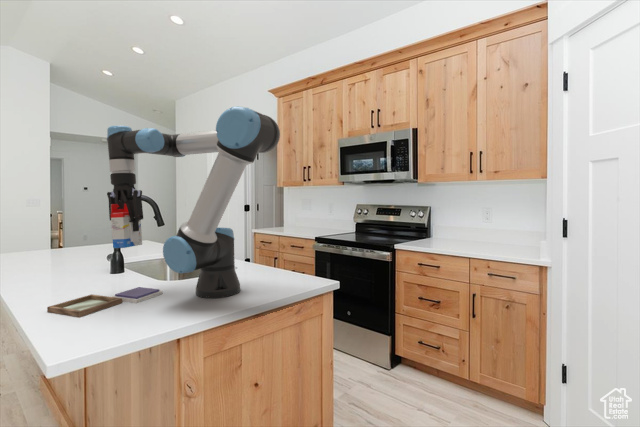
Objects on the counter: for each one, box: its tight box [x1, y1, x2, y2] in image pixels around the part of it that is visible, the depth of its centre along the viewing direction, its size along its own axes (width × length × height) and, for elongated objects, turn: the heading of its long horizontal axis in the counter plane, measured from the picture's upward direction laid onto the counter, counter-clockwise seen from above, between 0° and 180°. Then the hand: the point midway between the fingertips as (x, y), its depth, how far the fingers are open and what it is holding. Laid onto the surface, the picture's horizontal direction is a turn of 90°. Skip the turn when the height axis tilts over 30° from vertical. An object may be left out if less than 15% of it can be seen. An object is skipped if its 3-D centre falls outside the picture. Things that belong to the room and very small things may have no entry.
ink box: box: [110, 203, 143, 249], centre depth 123 cm, size 8×5×15 cm, turn 168°
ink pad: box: [111, 286, 164, 304], centre depth 123 cm, size 11×11×2 cm
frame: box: [46, 293, 123, 318], centre depth 112 cm, size 14×14×2 cm
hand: (128, 241), depth 123 cm, fingers closed on ink box, 5 cm apart
